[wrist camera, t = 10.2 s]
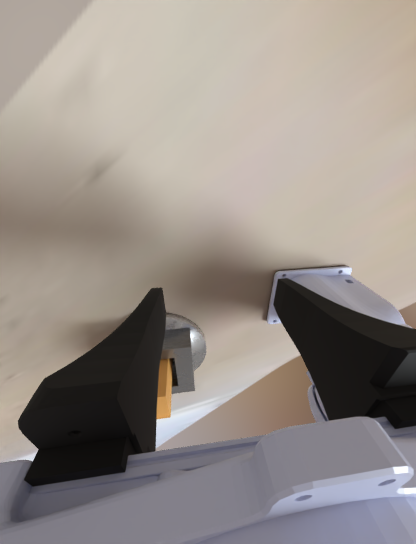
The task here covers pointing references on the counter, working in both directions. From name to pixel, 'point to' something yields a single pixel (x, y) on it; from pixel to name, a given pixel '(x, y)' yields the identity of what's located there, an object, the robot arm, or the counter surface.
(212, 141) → the counter surface
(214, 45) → the counter surface
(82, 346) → the counter surface
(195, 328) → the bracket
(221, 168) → the counter surface
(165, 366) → the tan rectangular prism
